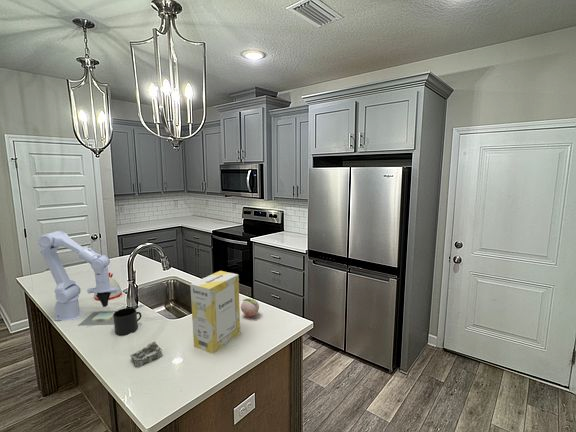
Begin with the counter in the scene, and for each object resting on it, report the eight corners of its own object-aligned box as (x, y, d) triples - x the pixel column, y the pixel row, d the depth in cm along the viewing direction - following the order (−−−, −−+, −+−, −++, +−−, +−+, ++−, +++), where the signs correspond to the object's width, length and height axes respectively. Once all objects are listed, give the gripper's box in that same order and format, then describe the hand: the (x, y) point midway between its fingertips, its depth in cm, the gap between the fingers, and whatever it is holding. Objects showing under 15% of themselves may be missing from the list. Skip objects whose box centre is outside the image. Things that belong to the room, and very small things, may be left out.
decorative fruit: (262, 314, 157) (262, 296, 155) (254, 321, 150) (253, 302, 148) (247, 311, 161) (246, 293, 159) (238, 318, 154) (237, 299, 152)
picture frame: (77, 326, 146) (77, 325, 146) (94, 312, 160) (94, 311, 160) (116, 325, 147) (116, 324, 147) (129, 311, 161) (129, 310, 161)
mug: (147, 327, 145) (145, 309, 144) (120, 338, 136) (118, 319, 134) (137, 320, 151) (136, 303, 149) (111, 331, 142) (109, 313, 140)
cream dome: (88, 299, 176) (85, 274, 173) (110, 290, 188) (108, 266, 186) (106, 303, 171) (103, 277, 168) (127, 293, 183) (124, 269, 181)
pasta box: (212, 353, 125) (209, 289, 120) (194, 346, 130) (190, 284, 125) (240, 332, 140) (238, 274, 136) (222, 326, 145) (220, 270, 141)
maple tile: (100, 314, 156) (92, 321, 149) (99, 312, 156) (91, 319, 149) (116, 314, 157) (109, 321, 150) (115, 312, 157) (108, 318, 150)
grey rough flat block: (156, 349, 128) (156, 340, 128) (164, 357, 123) (163, 347, 122) (129, 360, 121) (128, 350, 120) (136, 369, 116) (135, 359, 115)
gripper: (121, 277, 156) (123, 302, 158) (92, 277, 155) (94, 302, 158) (114, 282, 149) (117, 308, 151) (83, 283, 148) (86, 309, 151)
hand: (105, 306), depth 154 cm, fingers closed
